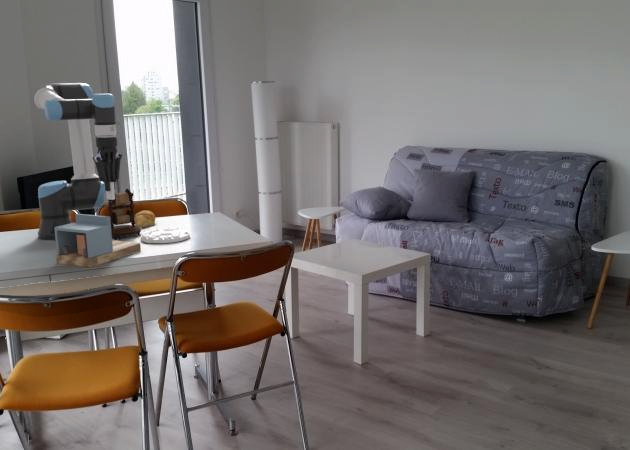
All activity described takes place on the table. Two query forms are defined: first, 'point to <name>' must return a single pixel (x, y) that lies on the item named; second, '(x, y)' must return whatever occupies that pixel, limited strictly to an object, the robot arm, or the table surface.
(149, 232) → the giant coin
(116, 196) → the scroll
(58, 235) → the housing cover
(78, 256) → the housing base
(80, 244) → the peg
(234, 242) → the table surface
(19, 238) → the table surface
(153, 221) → the bread loaf
